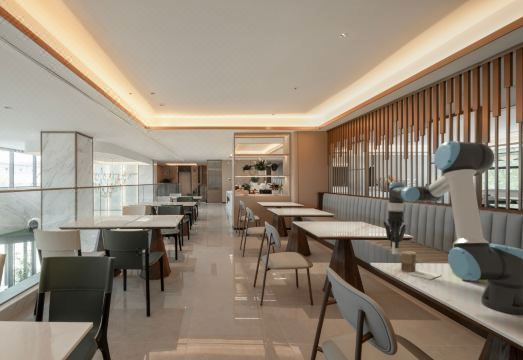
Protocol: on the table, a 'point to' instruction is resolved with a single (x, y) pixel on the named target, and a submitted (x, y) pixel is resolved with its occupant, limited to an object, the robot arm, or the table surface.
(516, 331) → the table surface
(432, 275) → the grey mat
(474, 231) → the robot arm
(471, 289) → the table surface
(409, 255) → the bronze block
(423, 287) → the table surface
